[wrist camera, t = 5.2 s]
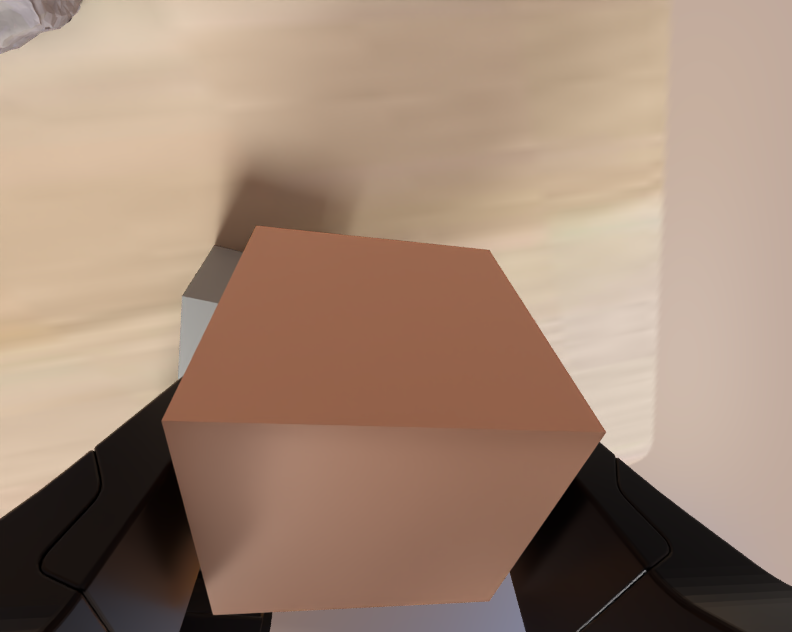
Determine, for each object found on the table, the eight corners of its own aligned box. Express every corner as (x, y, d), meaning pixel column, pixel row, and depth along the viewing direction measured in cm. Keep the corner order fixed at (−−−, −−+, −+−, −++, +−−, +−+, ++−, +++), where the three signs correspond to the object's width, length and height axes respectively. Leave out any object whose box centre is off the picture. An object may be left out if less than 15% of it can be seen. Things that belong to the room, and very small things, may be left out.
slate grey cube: (293, 336, 25) (282, 396, 21) (207, 319, 23) (178, 379, 19) (310, 267, 22) (301, 320, 18) (214, 244, 21) (182, 296, 17)
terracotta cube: (440, 404, 12) (488, 601, 8) (263, 397, 11) (213, 614, 7) (489, 249, 9) (605, 432, 5) (256, 225, 8) (162, 421, 4)
